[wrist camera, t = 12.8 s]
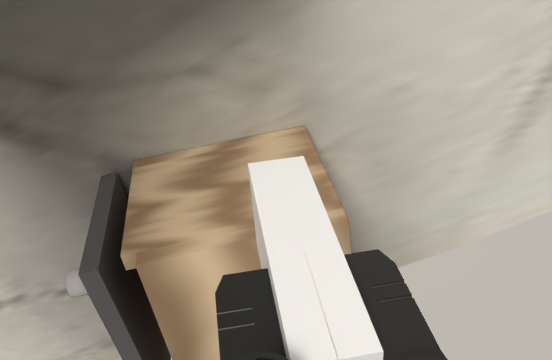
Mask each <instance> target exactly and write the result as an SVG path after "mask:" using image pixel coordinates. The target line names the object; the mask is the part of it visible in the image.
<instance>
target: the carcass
mask: <svg viewBox="0 0 552 360" xmlns="http://www.w3.org/2000/svg"><path fill="white" fill-rule="evenodd" d="M299 156H304V158H305V161H306V163H307V166H308V168H309V171H310V173H311V175H312V178H313V180H314V183H315V185H316V188H317V190H318V193H319V195H320V197H321V200H322V202H323V205H324V207H325V210H326V212H327V215H328V217H329V219H330V222H331V224H332V227H333V229H334V232H335V234H336V237H337V239H338V241H339V244H340V246H341V249H342V251H343V254H344V255H346V254H351V243H350V232H349V220H348V217H347V215H346V213H345V211H344V209H343V207H342V204H341V202H340V200H339V198H338V196H337V194H336V191H335V189H334V187H333V185H332V183H331V181H330V179H329V176H328V174H327V172H326V170H325V168H324V166H323V163H322V161H321V159H320V157H319V155H318V153H317V150H316V148H315V146H314V144H313V142H312V140H311V138H310V135H309V133H308V131H307V129H306V127H305V125H304V126H299V127H294V128H290V129H285V130H280V131H275V132H270V133H265V134H260V135H256V136H251V137H246V138H241V139H236V140H231V141H226V142H222V143H217V144H212V145H207V146H202V147H197V148H192V149H188V150H183V151H178V152H173V153H168V154H163V155H158V156H154V157H149V158H144V159H139V160H134V163H133V170H132V177H131V184H130V191H129V198H128V205H127V212H126V219H125V226H124V233H123V240H122V248H121V255H120V257H121V259H122V261H123V264H124V266H125V269H126V270H131V269H135V268H136V269H137V271H138V274H139V276H140V279H141V281H142V284H143V287H144V289H145V292H146V294H147V297H148V299H149V302H150V304H151V307H152V309H153V312H154V314H155V317H156V320H157V322H158V325H159V327H160V330H161V332H162V335H163V337H164V340H165V342H166V345H167V347H168V350H169V353H170V355H171V358H172V360H220V352H219V339H218V326H217V313H216V300H215V292H216V290H217V287H218V285H219V283H220V281H221V279H222V276H223V275H227V274H233V273H240V272H246V271H252V270H259V269H262V268H261V263H260V258H259V253H258V248H257V241H256V233H255V224H254V215H253V206H252V197H251V188H250V179H249V170H248V163H255V162H262V161H269V160H277V159H284V158H291V157H299Z"/></svg>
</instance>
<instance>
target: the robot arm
mask: <svg viewBox="0 0 552 360" xmlns="http://www.w3.org/2000/svg"><path fill="white" fill-rule="evenodd" d="M248 170H249V179H250V188H251V197H252V206H253V215H254V224H255V233H256V241H257V248H258V253H259V258H260V263H261V268H262V269H259V270H252V271H246V272H240V273H233V274H227V275H223V276H222V279H221V281H220V283H219V285H218V287H217V290H216V292H215V300H216V313H217V326H218V339H219V352H220V360H447V359H446V357H445V356H444V354H443V353H442V351H441V350H440V348H439V346H438V344H437V342H436V340H435V338H434V336H433V334H432V332H431V331H430V329H429V327H428V325H427V323H426V321H425V319H424V317H423V315H422V314H421V312H420V310H419V308H418V306H417V304H416V302H415V300H414V298H412V295H411V293H410V291H409V289H408V287H407V285H406V284H405V283H404V279H403V277H402V276H401V274H400V272H399V270H398V268H397V266H396V264H395V263H394V262H393V261H392V260H391V259H389V258H388V257H387V256H386V255H384V254H383V253H382V252H381V251H379V250H372V251H365V252H359V253H353V254H346V255H344V254H343V251H342V249H341V246H340V244H339V241H338V239H337V237H336V234H335V232H334V229H333V227H332V224H331V222H330V219H329V217H328V215H327V212H326V210H325V207H324V205H323V202H322V200H321V197H320V195H319V193H318V190H317V188H316V185H315V183H314V180H313V178H312V175H311V173H310V171H309V168H308V166H307V163H306V161H305V158H304V156H299V157H291V158H284V159H277V160H269V161H262V162H255V163H248Z"/></svg>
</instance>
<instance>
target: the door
mask: <svg viewBox="0 0 552 360" xmlns="http://www.w3.org/2000/svg"><path fill="white" fill-rule="evenodd" d="M127 205H128V200H127V198H126V195H125V193H124V190H123V188H122V185H121V183H120V180H119V178H118V176H117V173H114V174H109V175H105V176H101V180H100V184H99V189H98V193H97V197H96V201H95V206H94V210H93V214H92V218H91V223H90V227H89V231H88V235H87V240H86V244H85V248H84V252H83V257H82V261H81V265H80V268H77V269H73V270H69V271H67V272H66V274H65V285H66V289H67V292H68V294H69V296H70V297H72V298H75V297H79V296H83V295H87V294H88V295H89V296H90V298H91V300H92V302H93V304H94V306H95V308H96V310H97V312H98V314H99V315H100V317H101V319H102V321H103V323H104V325H105V327H106V329H107V331H108V333H109V335H110V336H111V338H112V340H113V342H114V344H115V346H116V348H117V350H118V352H119V354H120V355H121V357H122V359H123V360H171V355H170V353H169V350H168V347H167V345H166V342H165V340H164V337H163V335H162V332H161V330H160V327H159V325H158V322H157V320H156V317H155V314H154V312H153V309H152V307H151V304H150V302H149V299H148V297H147V294H146V292H145V289H144V287H143V284H142V281H141V279H140V276H139V274H138V271H137V269H136V268H135V269H131V270H126V269H125V266H124V264H123V261H122V259H121V257H120V255H121V248H122V240H123V233H124V226H125V219H126V212H127Z"/></svg>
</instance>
